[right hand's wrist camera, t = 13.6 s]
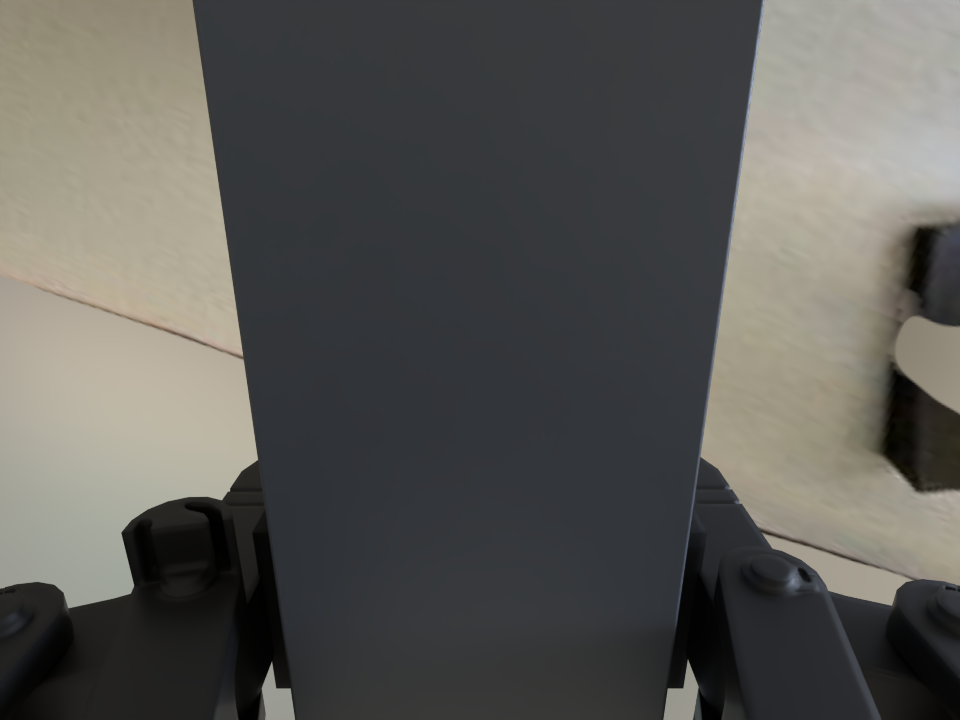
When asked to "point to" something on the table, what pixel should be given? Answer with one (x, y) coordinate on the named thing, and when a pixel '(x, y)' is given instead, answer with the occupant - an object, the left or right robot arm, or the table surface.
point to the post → (478, 333)
